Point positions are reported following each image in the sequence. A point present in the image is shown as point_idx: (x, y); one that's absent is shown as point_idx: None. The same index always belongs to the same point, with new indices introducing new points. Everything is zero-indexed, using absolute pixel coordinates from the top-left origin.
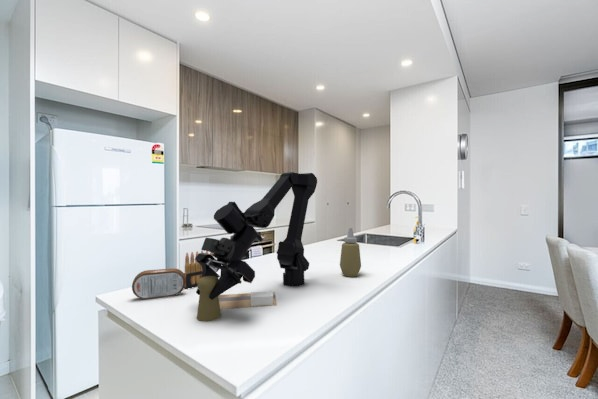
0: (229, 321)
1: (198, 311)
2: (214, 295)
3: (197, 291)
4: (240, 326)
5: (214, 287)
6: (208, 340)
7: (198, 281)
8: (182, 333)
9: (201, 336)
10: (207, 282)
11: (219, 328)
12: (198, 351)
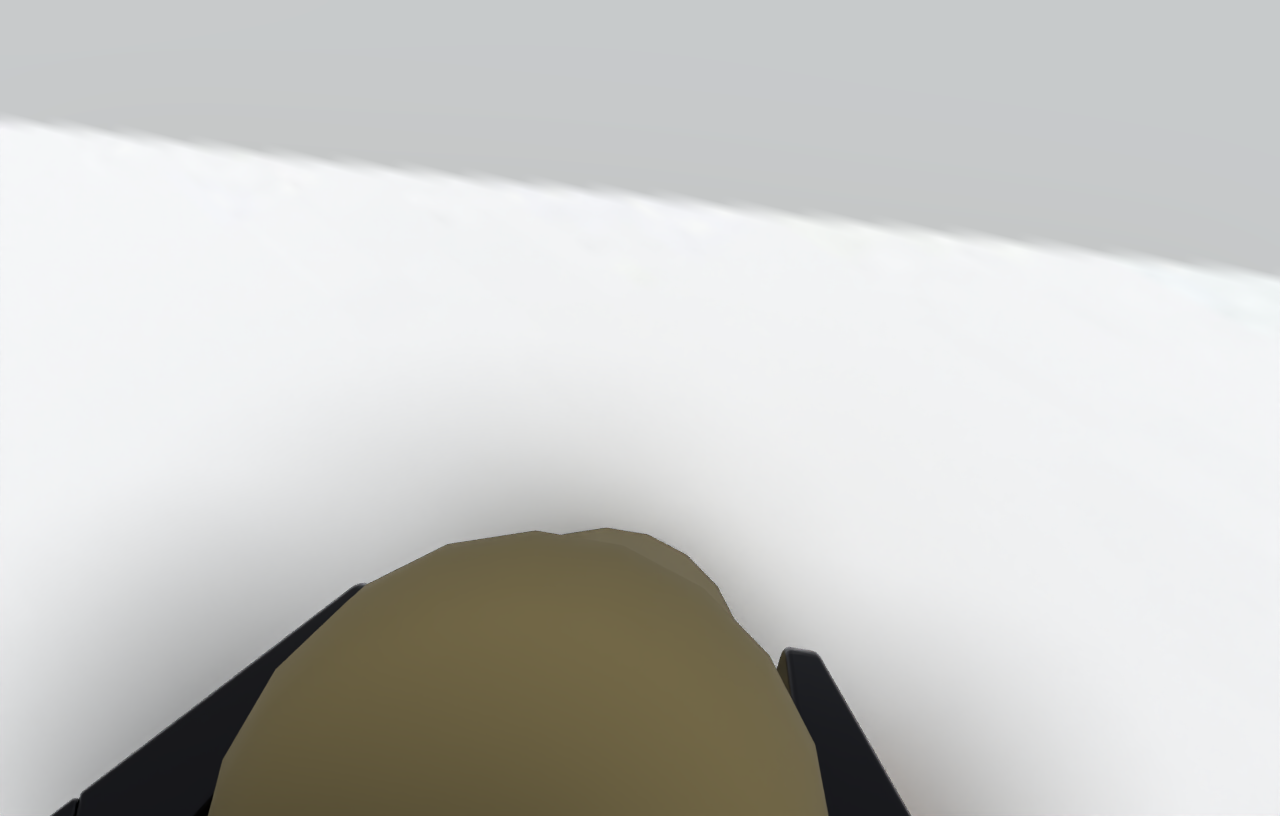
0: None
1: (640, 551)
2: None
3: (790, 662)
4: None
5: (232, 733)
6: (303, 374)
7: (672, 603)
8: (627, 343)
9: (418, 393)
10: (314, 640)
11: None
12: (252, 215)
